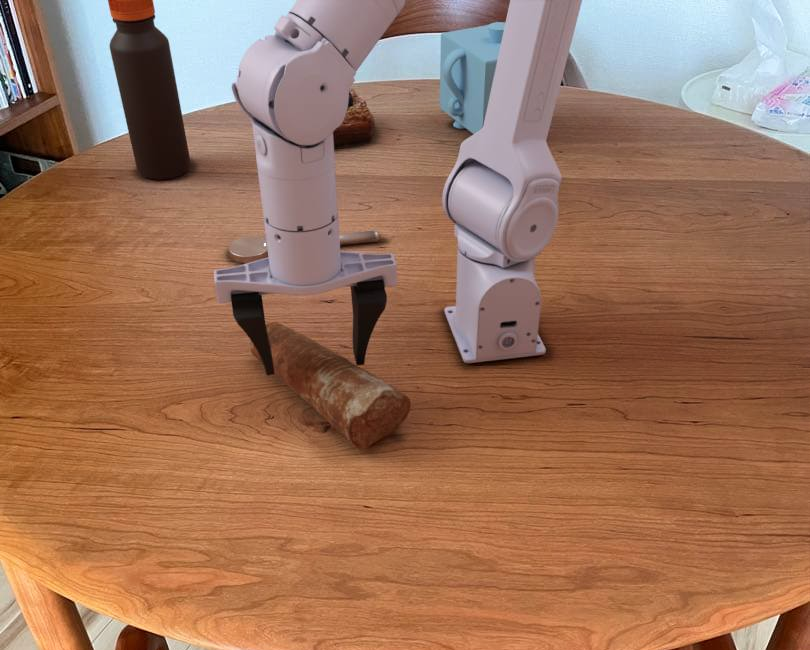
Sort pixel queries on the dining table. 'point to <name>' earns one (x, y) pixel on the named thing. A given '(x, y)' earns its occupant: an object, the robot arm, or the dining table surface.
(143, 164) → the bottle
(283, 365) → the brown wooden log
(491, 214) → the robot arm
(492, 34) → the teapot
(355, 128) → the pastry
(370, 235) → the spoon
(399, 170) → the dining table surface
